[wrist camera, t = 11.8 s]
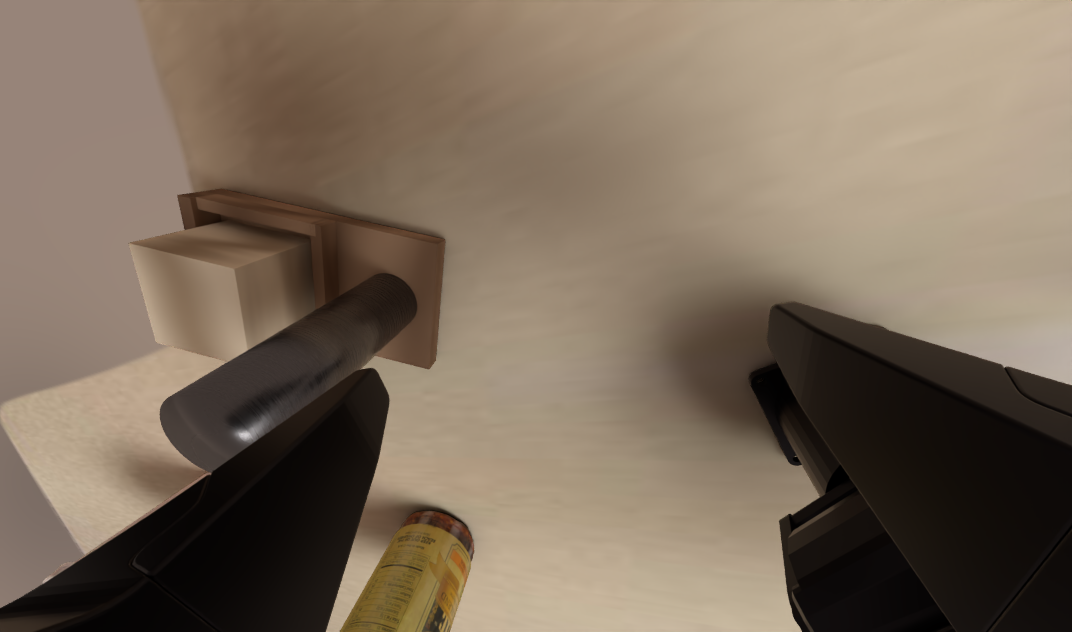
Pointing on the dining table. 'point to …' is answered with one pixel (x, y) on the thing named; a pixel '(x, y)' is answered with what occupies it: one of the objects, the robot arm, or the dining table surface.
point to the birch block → (223, 286)
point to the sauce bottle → (416, 578)
